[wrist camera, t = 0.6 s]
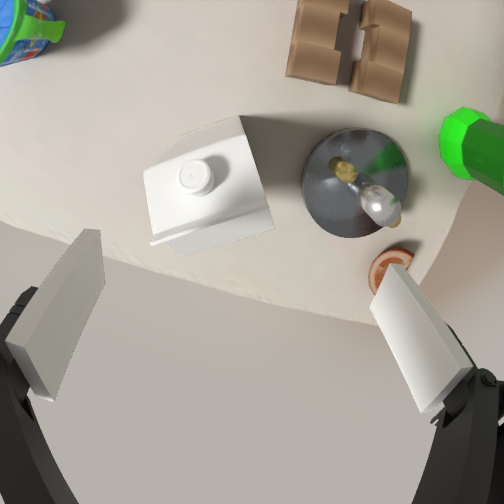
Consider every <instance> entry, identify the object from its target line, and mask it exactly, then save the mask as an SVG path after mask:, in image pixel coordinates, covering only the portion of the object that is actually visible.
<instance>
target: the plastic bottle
mask: <svg viewBox="0 0 504 504" xmlns="http://www.w3.org/2000/svg"><path fill="white" fill-rule="evenodd" d="M438 137H439V146H440V156H441V158H442V159H443V161H444V162H445V163H446V165H447V166H448V167H449V169H450V170H451V172H452V173H453V174H454V175H455V176H456V177H458V178H462V179H469V180H478V181H480V182H482V183H483V184H485V185H487V186H489V187H490V188H492V189H494V190H495V191H497V192H499V193H500V194H502V195H504V126H502V125H499V124H496V123H493V122H491V120H490V119H489V118H488V117H487V116H486V115H485V114H484V113H481V112H478V111H475V110H472V109H469V108H465V107H462V108H460V109H458V110H456V111H455V112H453V113H452V114H450V115H449V116H447V117H446V118H445V119H444V122H443V125H442V127H441V130H440V133H439V135H438Z"/></svg>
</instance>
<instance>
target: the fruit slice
mask: <svg viewBox="0 0 504 504" xmlns="http://www.w3.org/2000/svg"><path fill="white" fill-rule="evenodd" d="M413 256H414V254H413V253H412V252H410V251H408V250H406V249H402V248H392V249H388V250H387V251H385V252H383V253H382V254H380V255H379V256H378V257H377V258H376V259H375V260H374V261H373V263H372V265H371V267H370V271H369V276H368V279H369V286H370V288H371V291H372V292H373V294H374V295H376V293H377V290H378V288H379V286H380V284H381V282H382V279H383V277H384V275H385V273H386V270H387V268H388V266H389V264H390V263H393V264H401V265H403V267H404V268H405V269H406V270H407V268H408V266H409V264H410V262H411V260H412V258H413Z"/></svg>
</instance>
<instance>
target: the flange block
mask: <svg viewBox="0 0 504 504" xmlns="http://www.w3.org/2000/svg"><path fill="white" fill-rule="evenodd" d="M348 7H349V0H298V4H297V10H296V16H295V22H294V28H293V34H292V39H291V45H290V51H289V57H288V63H287V69H286V74H285V76H287V77H292V78H297V79H302V80H306V81H311V82H315V83H320V84H324V85H336V80H337V75H338V69H339V64H340V58H341V52H340V51H337V50H334V47H335V41H336V35H337V29H338V22H339V19H340V18H341V17H343V16H345V15H347V14H348ZM411 18H412V11H410V10H408V9H405V8H403V7H401V6H399V5H397V4H394V3H392V2H390V1H388V0H369V1H367V2H365V3H363V4H362V12H361V19H360V26H359V29H362V30H364V31H365V36H364V42H363V48H362V54H361V60H360V61H359V62H354V63H353V69H352V74H351V80H350V85H349V91H350V92H354V93H357V94H361V95H364V96H367V97H370V98H374V99H377V100H380V101H384V102H390V103H395V104H398V102H399V97H400V91H401V86H402V81H403V75H404V69H405V63H406V57H407V50H408V43H409V35H410V27H411Z"/></svg>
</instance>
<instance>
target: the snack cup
mask: <svg viewBox="0 0 504 504" xmlns="http://www.w3.org/2000/svg"><path fill="white" fill-rule="evenodd" d="M64 28H65V21H64V20H60V21H54V15H53V13H52V10H50V9H49V8H48V7H47V6H45V5H44V4H42V3H40V2H38V1H37V0H0V67H2V66H6V65H10V64H13V63H17V62H21V61H24V60H28V59H31V58H33V57H35V56H37V55H38V54H39V53H40V52H41V51H42V50H43V48H44V47H45V46H46V45H47V43H48V41H49V40H50V41H51V42H53V43H57V42H59V40H60V39H61V37H62V34H63V31H64Z"/></svg>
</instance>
